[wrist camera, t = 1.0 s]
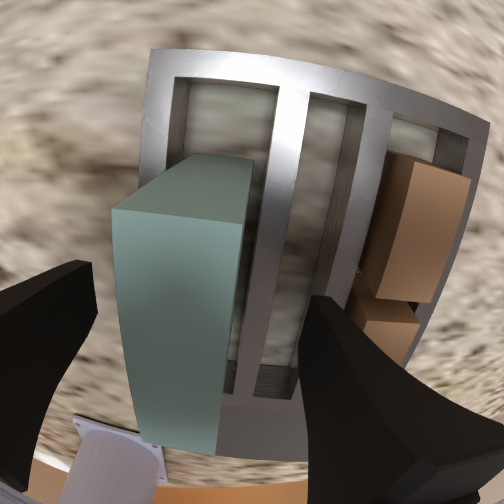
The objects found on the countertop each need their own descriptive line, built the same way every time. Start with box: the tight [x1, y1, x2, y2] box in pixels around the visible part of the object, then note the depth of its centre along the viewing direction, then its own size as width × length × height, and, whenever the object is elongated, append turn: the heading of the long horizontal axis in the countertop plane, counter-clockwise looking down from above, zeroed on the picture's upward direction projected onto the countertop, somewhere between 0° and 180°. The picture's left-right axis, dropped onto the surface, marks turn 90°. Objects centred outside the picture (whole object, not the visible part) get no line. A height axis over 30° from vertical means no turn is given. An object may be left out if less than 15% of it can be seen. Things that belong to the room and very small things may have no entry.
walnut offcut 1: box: [358, 150, 471, 303], centre depth 12 cm, size 5×2×4 cm, turn 172°
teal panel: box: [111, 153, 254, 455], centre depth 11 cm, size 8×2×8 cm, turn 172°
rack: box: [138, 49, 490, 412], centre depth 13 cm, size 16×13×2 cm
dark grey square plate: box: [215, 405, 308, 462], centre depth 20 cm, size 10×10×1 cm
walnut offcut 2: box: [344, 273, 421, 366], centre depth 14 cm, size 5×2×4 cm, turn 172°
